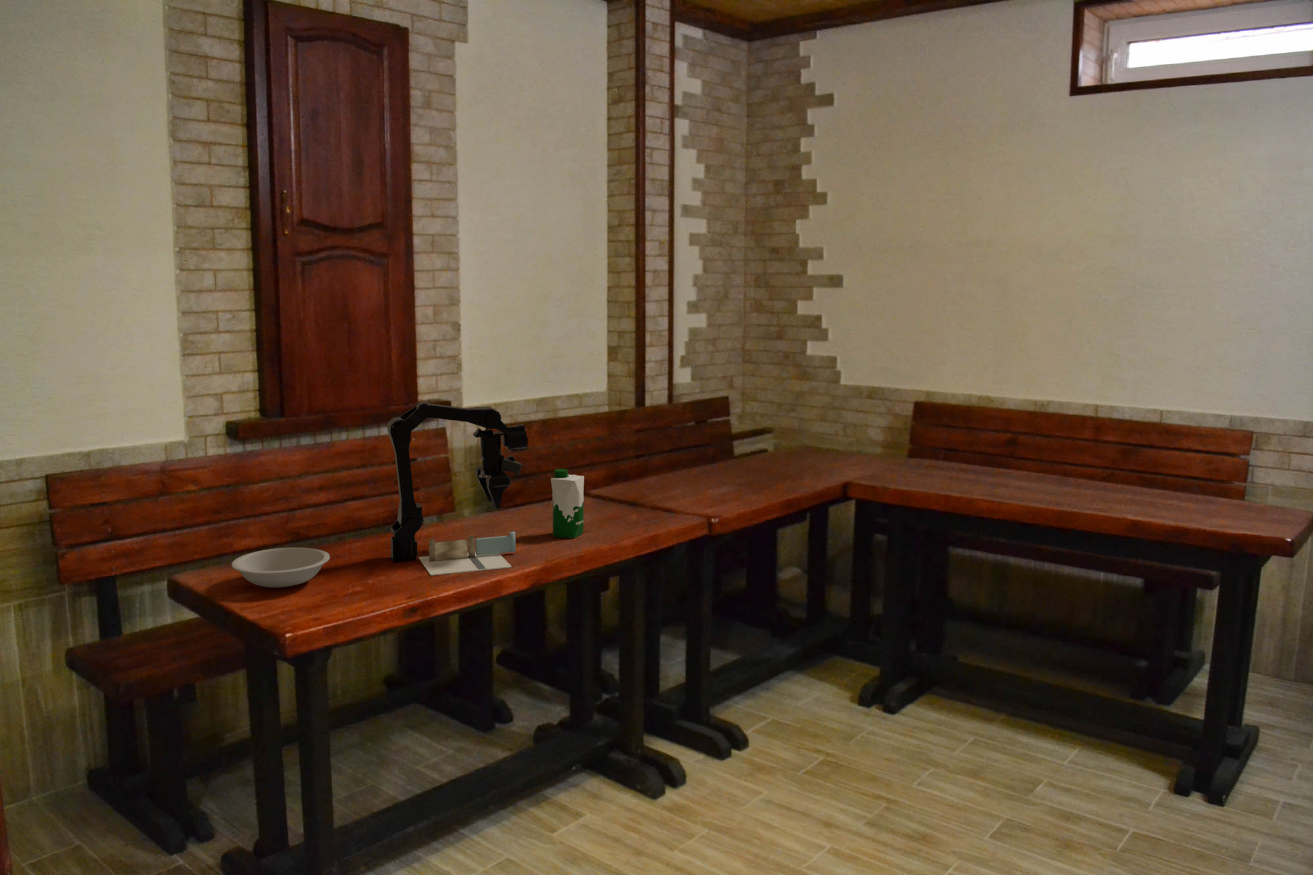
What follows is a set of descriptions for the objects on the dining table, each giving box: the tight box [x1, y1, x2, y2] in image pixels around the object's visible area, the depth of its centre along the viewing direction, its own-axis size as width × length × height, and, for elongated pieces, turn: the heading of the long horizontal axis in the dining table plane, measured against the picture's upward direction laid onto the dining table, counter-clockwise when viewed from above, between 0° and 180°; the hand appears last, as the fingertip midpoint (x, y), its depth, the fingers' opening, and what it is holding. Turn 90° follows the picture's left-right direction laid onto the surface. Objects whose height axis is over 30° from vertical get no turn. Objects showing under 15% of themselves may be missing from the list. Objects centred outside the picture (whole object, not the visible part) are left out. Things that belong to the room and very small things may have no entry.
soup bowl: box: [231, 546, 331, 588], centre depth 287 cm, size 24×24×7 cm
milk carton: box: [550, 468, 585, 539], centre depth 337 cm, size 9×9×20 cm
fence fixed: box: [428, 534, 476, 561], centre depth 310 cm, size 13×2×6 cm, turn 112°
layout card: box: [418, 551, 512, 577], centre depth 308 cm, size 22×18×1 cm
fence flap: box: [475, 531, 517, 555], centre depth 315 cm, size 11×2×6 cm, turn 112°
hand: (494, 504), depth 319 cm, fingers open, 9 cm apart
